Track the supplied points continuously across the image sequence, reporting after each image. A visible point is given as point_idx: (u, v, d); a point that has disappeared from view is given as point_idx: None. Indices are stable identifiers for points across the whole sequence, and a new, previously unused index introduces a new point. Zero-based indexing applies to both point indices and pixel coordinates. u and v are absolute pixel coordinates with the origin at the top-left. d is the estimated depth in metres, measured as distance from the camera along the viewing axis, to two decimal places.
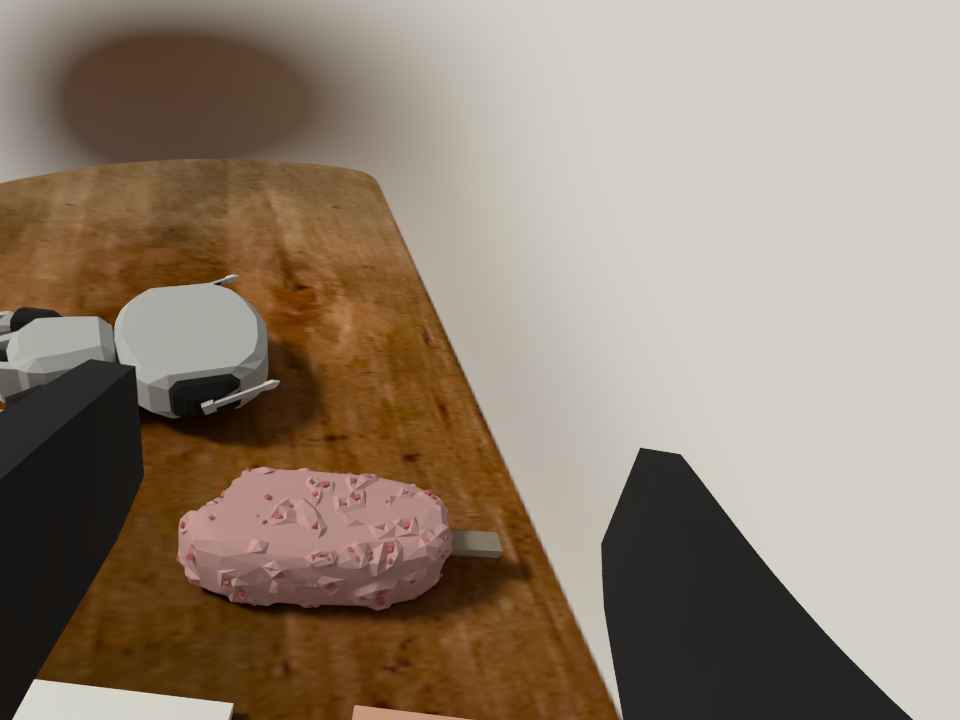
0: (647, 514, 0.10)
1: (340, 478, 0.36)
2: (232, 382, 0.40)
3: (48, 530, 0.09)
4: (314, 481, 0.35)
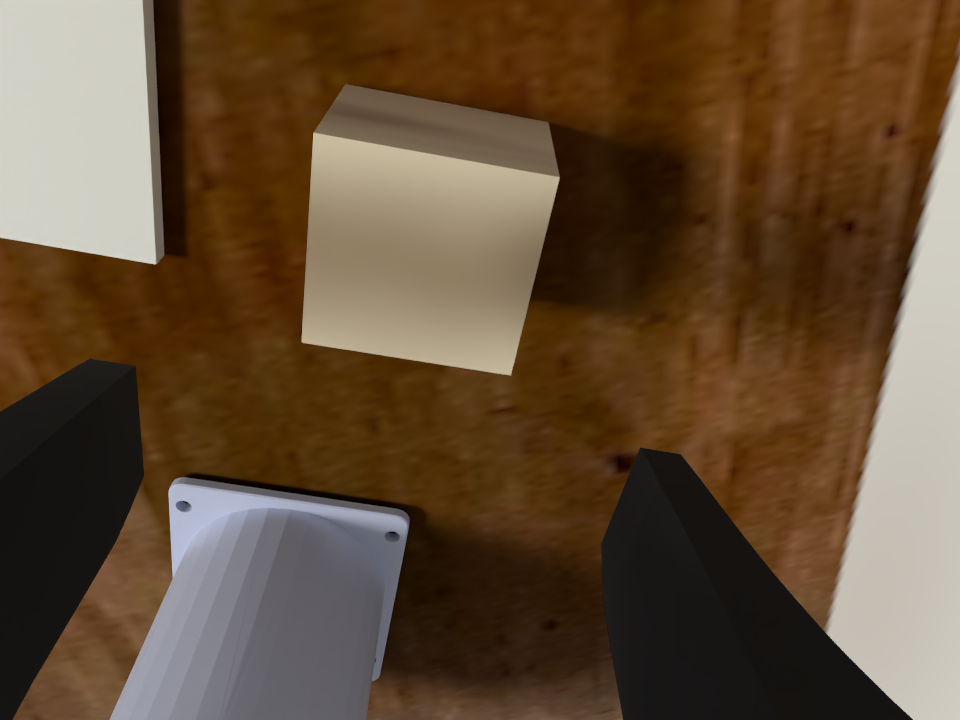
0: (647, 514, 0.10)
1: None
2: None
3: (47, 530, 0.09)
4: None
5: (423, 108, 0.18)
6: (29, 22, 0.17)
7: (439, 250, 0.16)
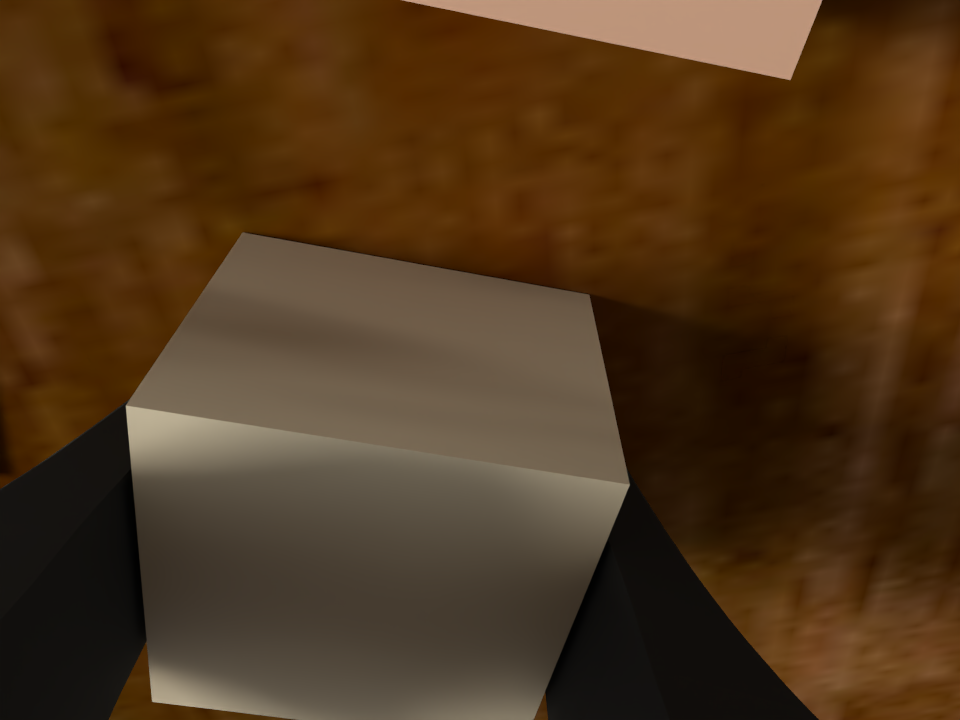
0: None
1: None
2: None
3: None
4: None
5: (373, 290, 0.10)
6: None
7: (393, 587, 0.09)
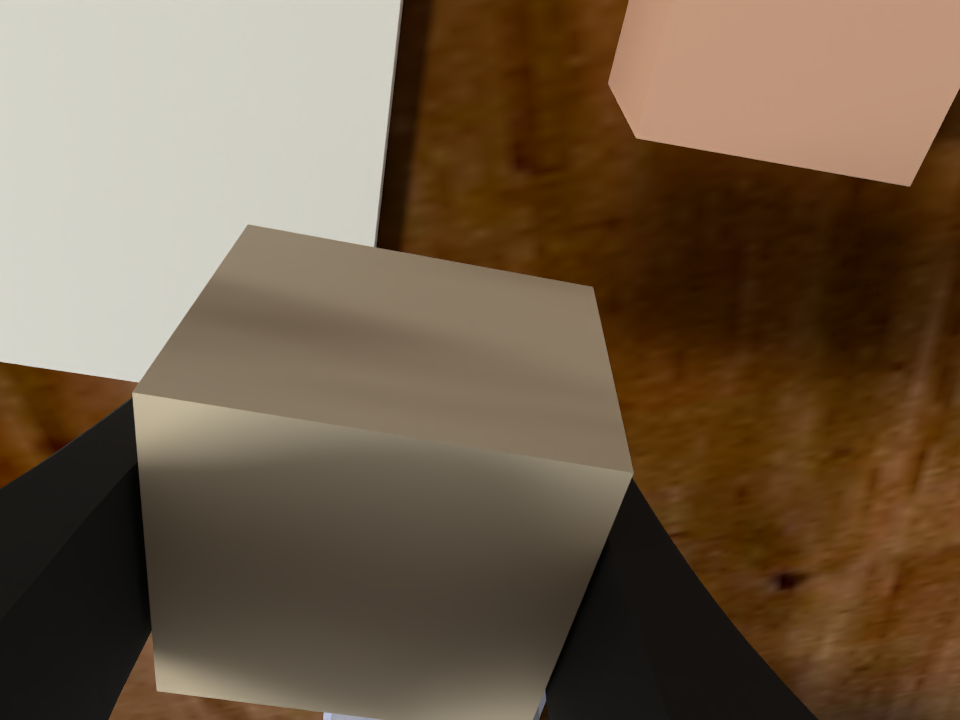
0: None
1: None
2: None
3: (138, 543, 0.09)
4: None
5: (377, 281, 0.10)
6: (265, 206, 0.17)
7: (396, 576, 0.09)
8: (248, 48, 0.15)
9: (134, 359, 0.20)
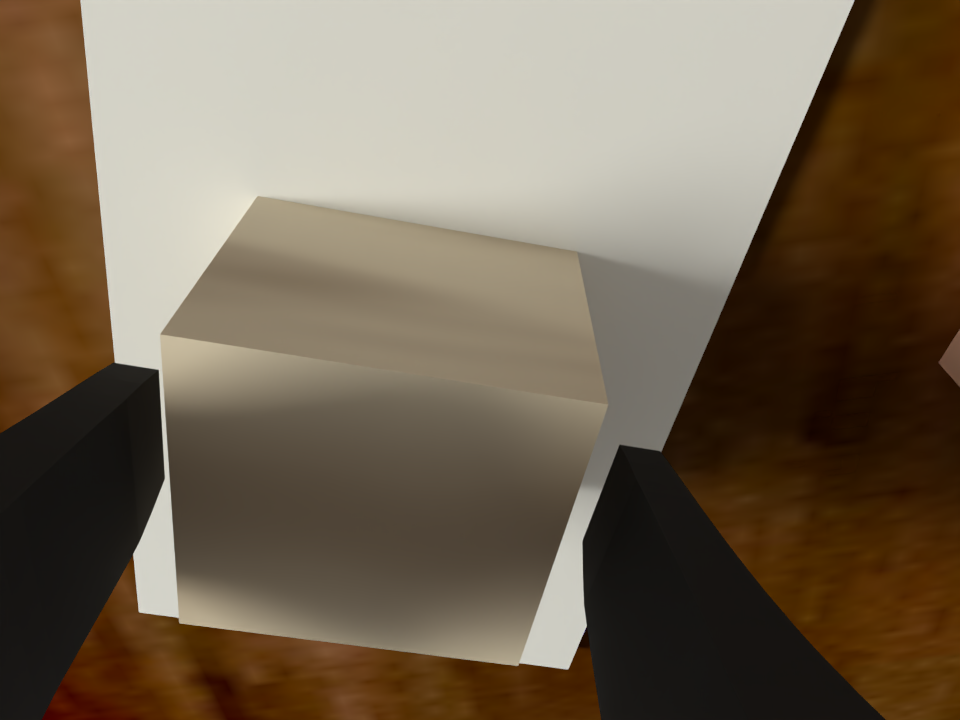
0: (625, 511, 0.10)
1: None
2: None
3: (75, 534, 0.09)
4: None
5: (377, 245, 0.11)
6: None
7: (398, 507, 0.10)
8: None
9: None
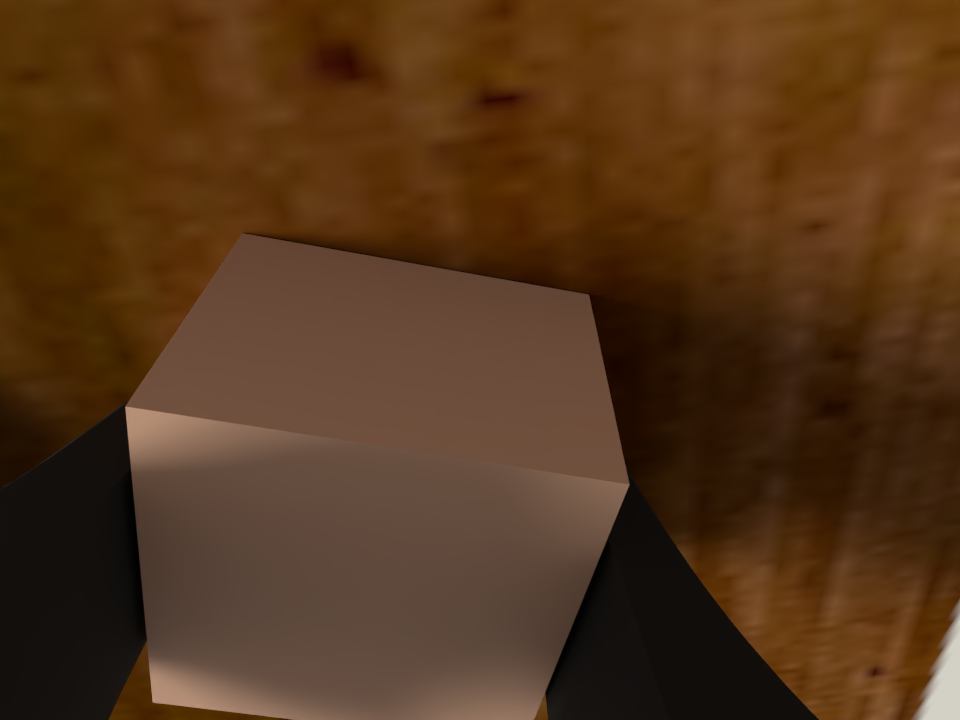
0: None
1: None
2: None
3: None
4: None
5: None
6: None
7: None
8: None
9: None
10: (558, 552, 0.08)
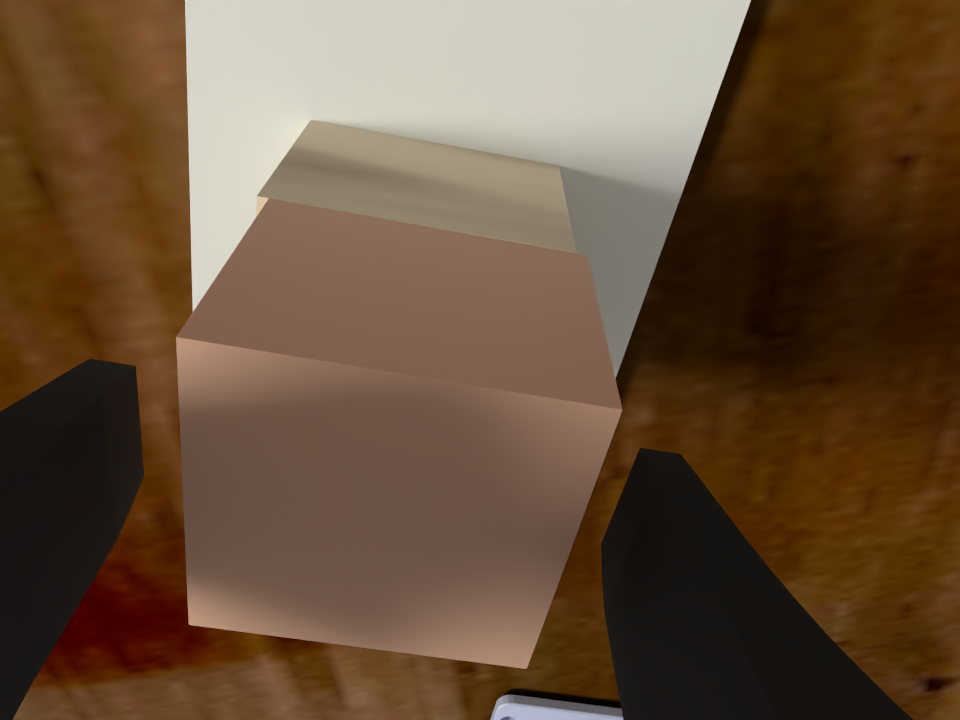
0: (647, 514, 0.10)
1: None
2: None
3: (47, 530, 0.09)
4: None
5: (404, 154, 0.14)
6: None
7: None
8: None
9: None
10: (559, 475, 0.09)
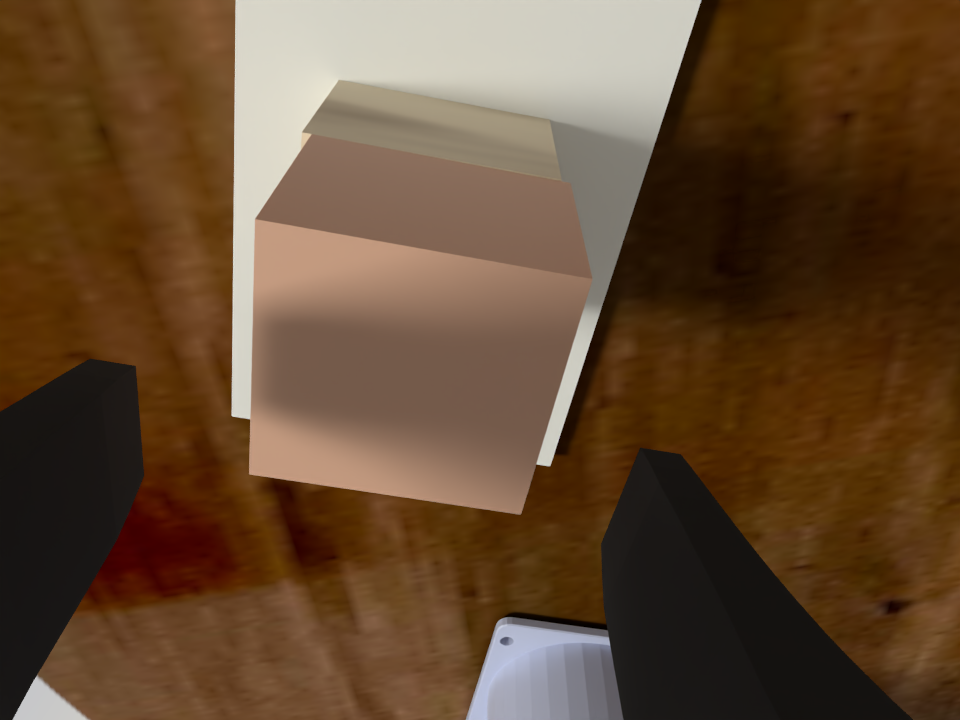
0: (647, 514, 0.10)
1: None
2: None
3: (47, 530, 0.09)
4: None
5: (419, 107, 0.17)
6: None
7: None
8: None
9: None
10: (544, 336, 0.12)
